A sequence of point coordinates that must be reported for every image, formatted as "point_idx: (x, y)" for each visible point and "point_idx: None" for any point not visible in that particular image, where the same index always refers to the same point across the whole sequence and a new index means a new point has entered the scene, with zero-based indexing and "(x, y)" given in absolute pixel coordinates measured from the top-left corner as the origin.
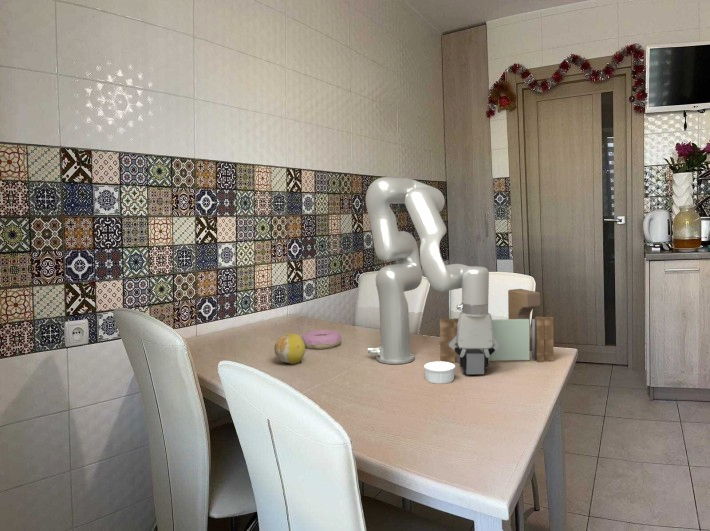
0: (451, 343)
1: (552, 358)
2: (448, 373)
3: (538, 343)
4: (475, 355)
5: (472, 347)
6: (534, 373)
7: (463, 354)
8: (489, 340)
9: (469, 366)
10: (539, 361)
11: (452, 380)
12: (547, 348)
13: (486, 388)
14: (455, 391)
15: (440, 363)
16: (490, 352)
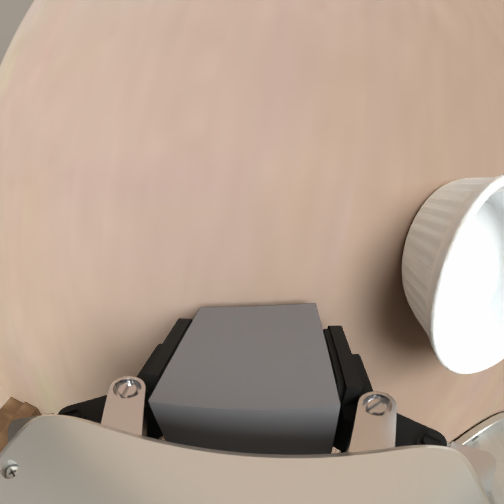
0: (484, 477)
1: (8, 402)
2: (476, 185)
3: (7, 443)
4: (244, 399)
5: (287, 465)
6: (14, 310)
7: (365, 413)
8: (13, 478)
9: (303, 331)
10: (32, 406)
11: (418, 213)
12: (1, 424)
13: (225, 66)
14: (411, 46)
15: (469, 359)
16: (97, 410)
